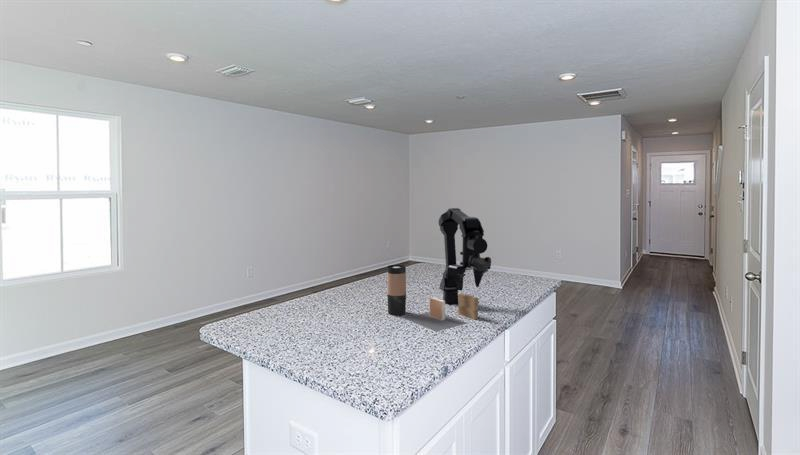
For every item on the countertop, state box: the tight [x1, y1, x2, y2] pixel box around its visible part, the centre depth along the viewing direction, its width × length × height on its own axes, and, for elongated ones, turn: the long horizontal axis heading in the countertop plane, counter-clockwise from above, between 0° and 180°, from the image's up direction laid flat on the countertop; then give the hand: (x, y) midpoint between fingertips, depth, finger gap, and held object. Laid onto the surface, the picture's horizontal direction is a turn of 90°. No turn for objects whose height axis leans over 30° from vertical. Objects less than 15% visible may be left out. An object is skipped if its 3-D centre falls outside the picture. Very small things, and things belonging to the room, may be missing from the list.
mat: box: [403, 311, 468, 332], centre depth 165 cm, size 20×16×1 cm
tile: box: [429, 296, 446, 320], centre depth 168 cm, size 8×2×8 cm, turn 36°
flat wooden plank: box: [457, 292, 479, 321], centre depth 170 cm, size 9×2×9 cm, turn 36°
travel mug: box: [386, 264, 407, 317], centre depth 174 cm, size 8×8×20 cm
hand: (469, 288), depth 169 cm, fingers open, 9 cm apart
